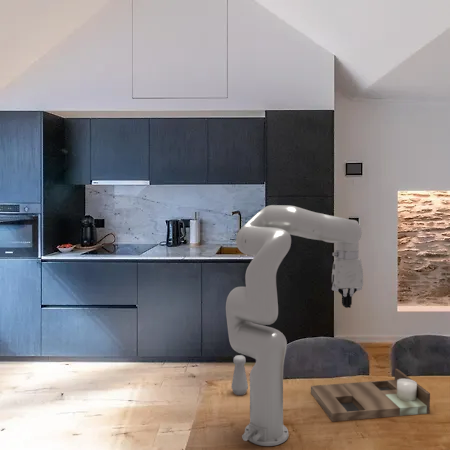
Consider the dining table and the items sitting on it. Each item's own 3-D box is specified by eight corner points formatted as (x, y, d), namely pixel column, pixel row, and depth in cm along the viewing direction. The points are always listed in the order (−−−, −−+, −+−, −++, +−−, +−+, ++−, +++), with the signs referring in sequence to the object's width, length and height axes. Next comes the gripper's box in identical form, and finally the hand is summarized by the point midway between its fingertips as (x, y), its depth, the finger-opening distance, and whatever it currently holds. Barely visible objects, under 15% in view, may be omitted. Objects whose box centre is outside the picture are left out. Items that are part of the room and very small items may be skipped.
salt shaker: (248, 396, 158) (248, 359, 157) (231, 396, 158) (231, 359, 157) (247, 389, 163) (247, 353, 162) (231, 389, 164) (231, 353, 163)
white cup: (414, 403, 146) (414, 387, 146) (394, 398, 150) (395, 383, 149) (418, 395, 151) (418, 381, 151) (399, 391, 155) (399, 377, 154)
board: (332, 421, 140) (332, 400, 140) (310, 392, 160) (310, 374, 159) (429, 413, 145) (430, 393, 144) (397, 386, 165) (397, 368, 164)
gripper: (330, 257, 156) (330, 310, 158) (372, 256, 158) (371, 308, 160) (322, 254, 163) (322, 305, 165) (362, 253, 166) (362, 303, 167)
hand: (346, 306), depth 162 cm, fingers closed
